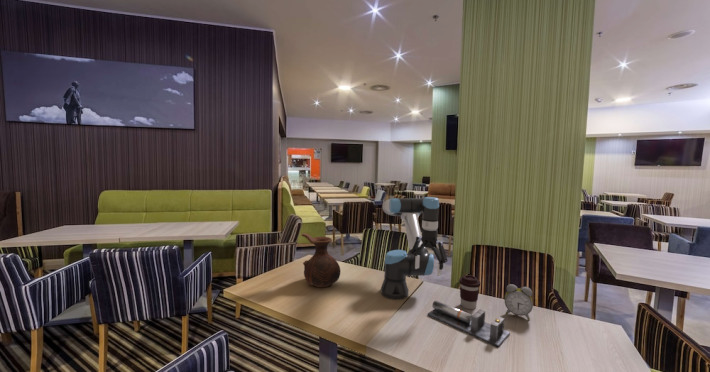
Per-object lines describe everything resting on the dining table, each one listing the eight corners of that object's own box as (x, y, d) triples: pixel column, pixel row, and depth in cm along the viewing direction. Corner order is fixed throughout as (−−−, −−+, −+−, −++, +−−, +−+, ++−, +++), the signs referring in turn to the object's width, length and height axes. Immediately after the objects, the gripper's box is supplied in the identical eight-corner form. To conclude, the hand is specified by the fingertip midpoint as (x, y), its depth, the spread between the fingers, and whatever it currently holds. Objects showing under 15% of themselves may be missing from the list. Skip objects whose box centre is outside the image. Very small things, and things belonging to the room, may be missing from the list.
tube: (431, 309, 141) (432, 301, 140) (436, 306, 144) (436, 298, 143) (468, 325, 128) (469, 316, 127) (472, 322, 130) (473, 313, 130)
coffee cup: (480, 312, 141) (482, 282, 140) (459, 309, 143) (461, 280, 142) (476, 302, 151) (478, 274, 150) (456, 300, 153) (458, 272, 152)
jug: (320, 273, 186) (321, 227, 184) (347, 281, 174) (348, 232, 171) (295, 284, 169) (295, 233, 166) (322, 295, 156) (323, 240, 153)
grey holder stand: (427, 315, 137) (428, 299, 137) (441, 306, 146) (442, 291, 146) (498, 347, 114) (499, 329, 114) (509, 334, 123) (511, 317, 123)
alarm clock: (503, 315, 139) (505, 285, 138) (503, 309, 145) (505, 280, 144) (531, 322, 133) (534, 290, 132) (530, 315, 139) (533, 285, 138)
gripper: (405, 225, 148) (403, 266, 150) (448, 235, 131) (446, 281, 133) (413, 223, 153) (411, 263, 155) (456, 232, 136) (454, 276, 138)
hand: (427, 271), depth 144 cm, fingers open, 12 cm apart
